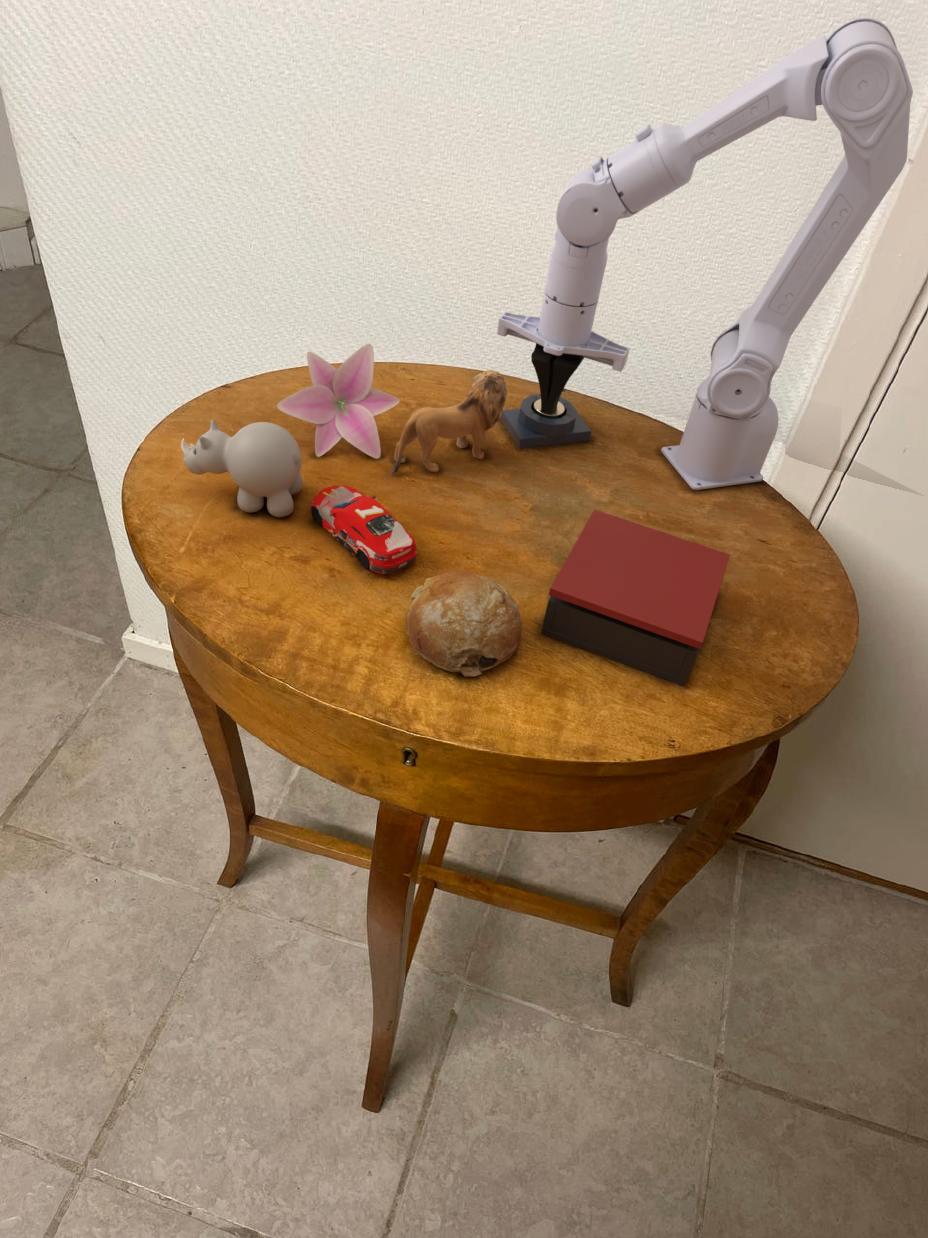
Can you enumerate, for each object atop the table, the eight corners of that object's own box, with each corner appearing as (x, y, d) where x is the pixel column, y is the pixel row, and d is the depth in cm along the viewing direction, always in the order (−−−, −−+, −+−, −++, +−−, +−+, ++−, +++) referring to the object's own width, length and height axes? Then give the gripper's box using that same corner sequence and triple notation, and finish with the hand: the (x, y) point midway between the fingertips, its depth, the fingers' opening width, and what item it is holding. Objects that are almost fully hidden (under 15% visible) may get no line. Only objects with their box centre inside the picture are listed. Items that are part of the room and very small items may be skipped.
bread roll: (422, 703, 81) (447, 675, 74) (382, 599, 83) (402, 563, 76) (518, 671, 85) (551, 642, 78) (477, 573, 87) (505, 537, 80)
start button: (554, 409, 109) (557, 396, 107) (566, 426, 106) (569, 413, 105) (526, 412, 107) (529, 399, 106) (538, 429, 105) (541, 416, 104)
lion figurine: (479, 426, 107) (489, 357, 101) (510, 449, 104) (522, 379, 98) (377, 465, 99) (381, 392, 93) (407, 490, 97) (413, 417, 90)
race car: (301, 511, 93) (300, 479, 90) (346, 494, 95) (347, 462, 92) (377, 586, 86) (379, 553, 83) (423, 565, 89) (426, 533, 86)
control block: (567, 412, 111) (572, 390, 109) (590, 442, 107) (595, 420, 105) (499, 419, 109) (502, 396, 107) (519, 450, 104) (523, 427, 102)
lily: (263, 446, 101) (272, 403, 93) (305, 365, 106) (318, 316, 97) (362, 493, 103) (380, 456, 94) (400, 411, 108) (420, 368, 99)
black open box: (684, 686, 81) (697, 653, 78) (540, 633, 84) (548, 599, 81) (713, 594, 90) (727, 561, 87) (583, 549, 93) (592, 515, 90)
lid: (700, 649, 77) (702, 642, 76) (548, 595, 80) (550, 587, 79) (727, 561, 87) (730, 554, 87) (592, 515, 90) (594, 509, 89)
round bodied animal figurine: (200, 464, 96) (192, 393, 90) (311, 485, 96) (310, 415, 90) (173, 504, 91) (162, 432, 85) (290, 527, 90) (287, 456, 84)
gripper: (494, 289, 95) (478, 403, 104) (627, 328, 92) (598, 442, 101) (517, 265, 100) (500, 376, 109) (644, 301, 97) (615, 412, 106)
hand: (549, 406), depth 106 cm, fingers closed, pressing on start button
